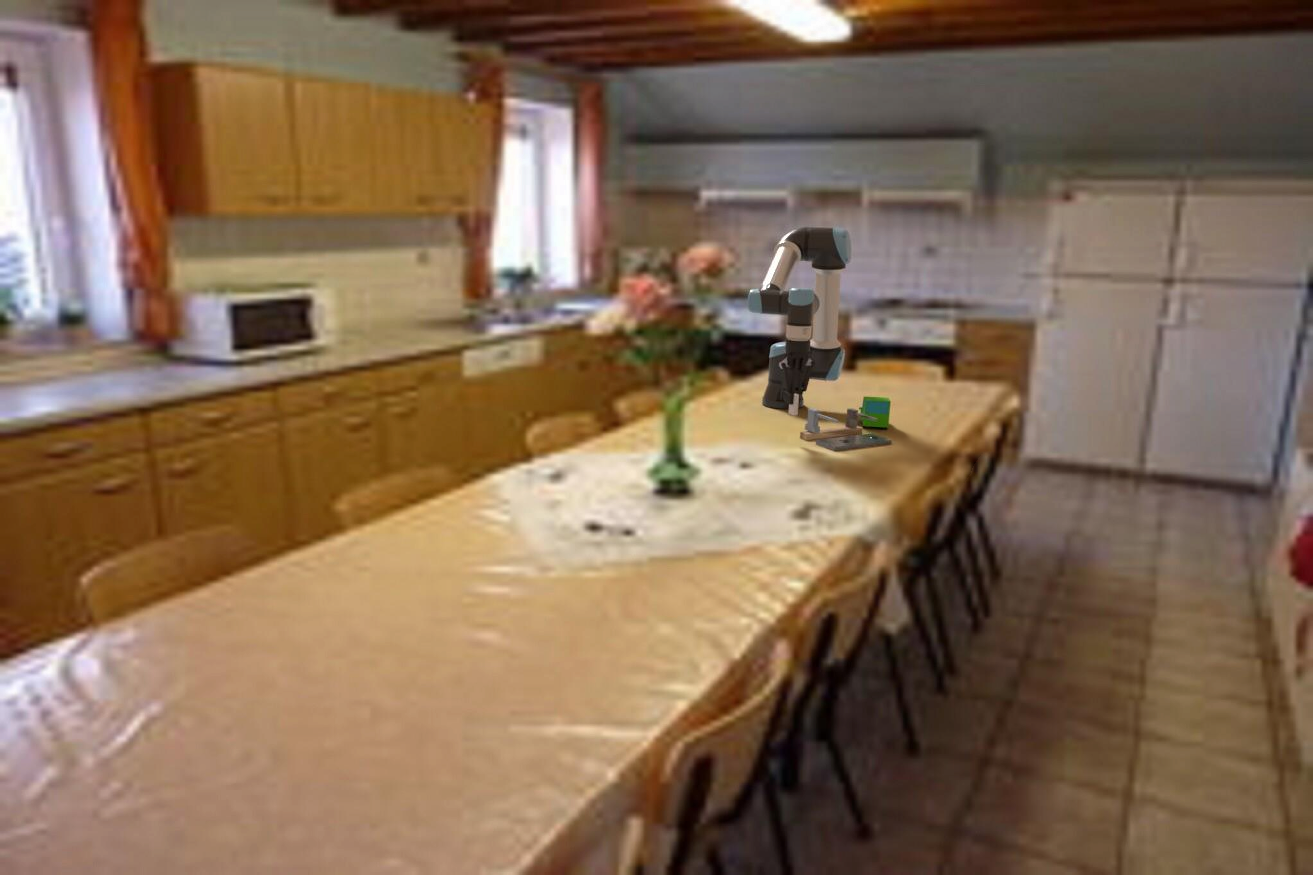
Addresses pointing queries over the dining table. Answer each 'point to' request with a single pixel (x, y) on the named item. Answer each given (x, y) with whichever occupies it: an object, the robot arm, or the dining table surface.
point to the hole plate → (853, 442)
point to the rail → (841, 431)
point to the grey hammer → (815, 420)
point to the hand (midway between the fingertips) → (793, 414)
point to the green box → (875, 411)
